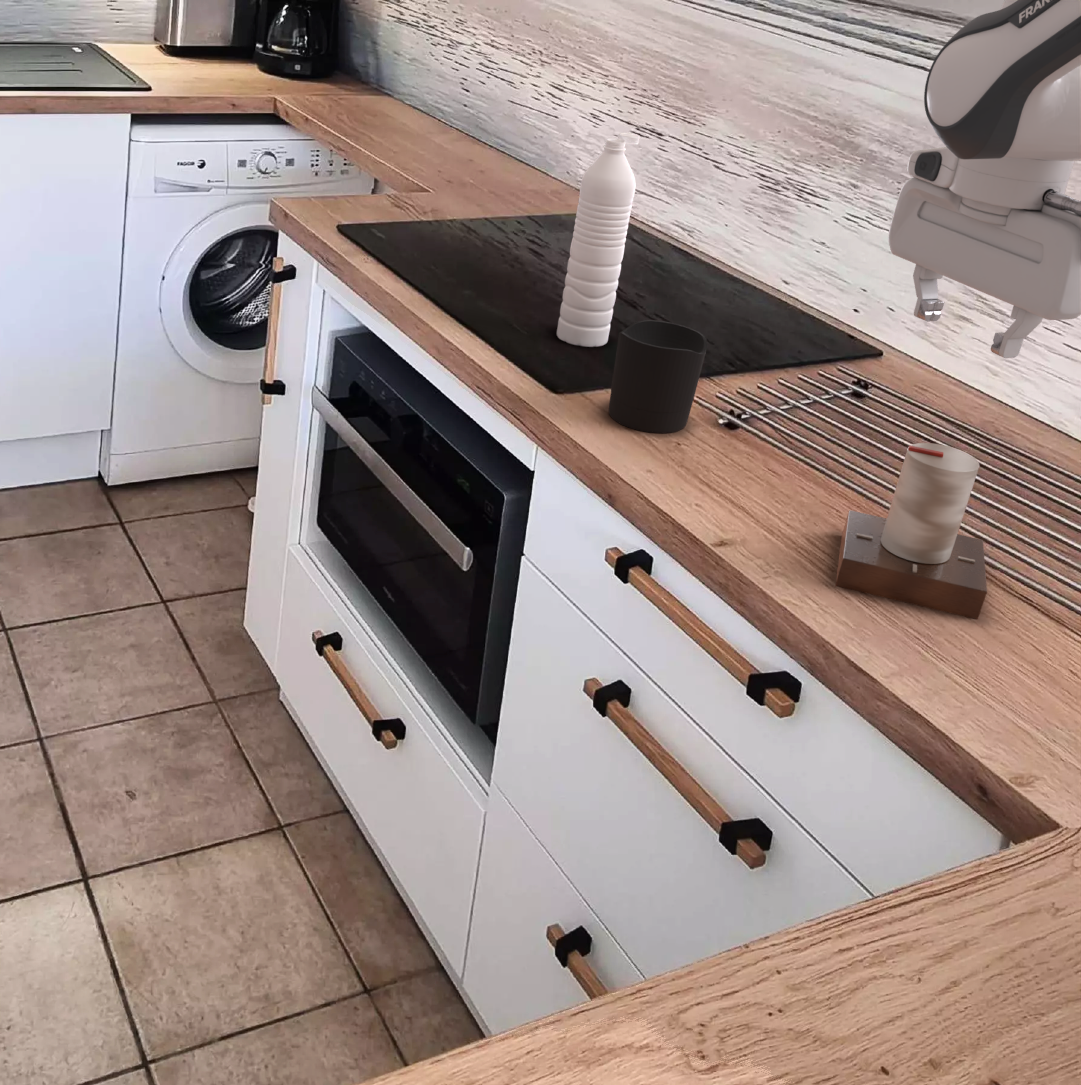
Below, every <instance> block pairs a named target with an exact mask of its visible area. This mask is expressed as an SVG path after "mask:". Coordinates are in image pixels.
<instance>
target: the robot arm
mask: <svg viewBox="0 0 1081 1085" xmlns="http://www.w3.org/2000/svg"><path fill="white" fill-rule="evenodd" d="M923 102H924V103H923V104H924V110H925V114H926V118H927V120H928V122H929V124H930V126H931V128H932V129H933V130H934V133H935V134H936V136H937V137H938V138H939V140H940V141H941V142H942V143H943V145H944V146H943V147H933V148H925V149H924V148H923V149H917V150H914V151H912V153H910V155H909V158H908V162H907V167H906V168H907V169H906V170H907V173H908V175H910V176H911V178H909V179H908V180H906V181H905V183H904V184H903V185H902V187H901V189H900V191H899V194H898V197H897V200H896V203H895V206H894V210H893V213H892V218H891V220H890V221H891V222H890V226H889V231H888V236H887V240H888V246H889V249H890V253H891V254H892V255H893V256H896V257H899V258H901V259H903V260H905V261H907V262H911V263H912V264H915V267H914V270H913V274H912V278H913V283H914V289H915V294H916V298H917V299H916V301H915V302H916V303H915V306H914V310H913V315H914V317H916V318H917V319H920V320H922V321H925V322H927V323H929V322H937V321H939V320H940V318H941V316H942V312H941V311H942V310H943V309H944V305H945V301H943V300H941V299H939V288H938V285H939V284H938V280H942V279H943V277H946V278H948V279H950V280H953V281H954V282H957V283H959V284H962V285H964V286H967V287H969V288H971V289H974V290H976V291H978V292H980V293H983V294H986V295H988V296H990V297H992V298H995V299H997V300H1000V301H1002V302H1005V303H1007V304H1009V305H1011V306H1012V310H1011V313H1010V319H1013V320H1014V321H1013V322H1012V324H1011V325H1010V326H1009V327H1008V328H1007V329H1006V330H1005V332H1002V331H1001V332H995V333H994V335H993V338H992V339H993V340H992V341H993V342H992V344H991V346H990V352H991V353H993V354H995V355H997V356H999V357H1001V358H1003V359H1015V358H1017V357H1018V356H1019V354H1020V352H1021V349H1022V345H1023V342H1024V339H1026V337H1028V336H1029V335H1030V334H1031V333H1032V332H1033V331H1034V330H1035V329H1036V328H1037V327H1038V326H1039V325H1040V324H1041V323H1042V322H1043V319H1045V320H1047V321H1065V320H1074V319H1077V318H1078V317H1080V316H1081V200H1078V199H1076V198H1074V197H1072V196H1070V195H1067V194H1065V193H1066V191H1067V187H1068V184H1069V180H1070V178H1071V174H1072V171H1073V169H1074V164H1075V162H1081V0H1004V1H1003V3H1002V5H1001V7H1000V9H999V10H995V11H991V12H987V13H983V14H980V15H978V16H976V17H975V18H973V19H972V20H970V21H968V23H966V24H965V25H963V26H962V27H961V28H960V29H959V30H957V32H955V33H954V34H953V35H952V37H951V38H950V39H949V40H948V41H946V43H945V44H944V45H943V47H942V48H941V49H940V50H939V52H937V55H936V56H935V58H934V59H933V62H932V64H931V65H930V68H929V71H928V74H927V77H926V81H925V86H924V91H923Z"/></svg>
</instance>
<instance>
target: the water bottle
mask: <svg viewBox="0 0 1081 1085" xmlns="http://www.w3.org/2000/svg"><path fill="white" fill-rule="evenodd" d="M640 137H641V136H640V135H639V134H636V133H630V132H620V133H619V134H618V138H606V139H605V140H606V141H605V142H604V143H605V145H602V147H603V151H602V152H600V154H599V155H598V156H597V158H595V160H594V161H593V162H592V163H591V164H590V165H589V167H587V169H586V170H585V171H584V174H583V175H582V177H581V181H580V187H579V198H578V204H577V206H576V207H577V208H576V209H577V210H576V213H575V216H576V217H575V219H574V225H573V230H574V231H573V232H572V239H571V243H570V247H569V248H570V249H569V258H568V260H567V265H566V270H567V273H566V275H565V278H564V285H565V286H564V288H563V291H562V302H561V304H560V309H559V317H558V320H557V329H556V336H557V338H558V339H559V340H561V341H563V342H566V344H570V345H574V346H580V347H586V348H587V347H589V348H594V347H596V348H597V347H602V346H604V345H606V344H607V343H608V341H609V335H610V331H611V322H612V320H613V314H614V306H615V302H616V298H617V292H616V291H617V290H618V286H619V278H620V275H621V271H622V261H623V258H624V254H625V248H626V245H625V243H626V242H627V238H626V237H627V234H628V229H629V223H630V216H631V214H632V212H631V211H632V209H633V208H632V207H633V202H634V198H635V194H636V187H637V186H636V185H637V184H636V183H637V182H636V177H635V174H634V172H633V170H632V167H631V165H630V163H629V161H628V159H627V156H626V154H625V151H627V148H626V145H627V146H638V145H639V143H640Z"/></svg>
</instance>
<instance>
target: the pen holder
mask: <svg viewBox="0 0 1081 1085" xmlns="http://www.w3.org/2000/svg"><path fill="white" fill-rule="evenodd" d="M707 350H708V339H707V337H706V335H704V334H703V333H701V331H698V330H696V329H694V328H692V327H688V326H686V325H683V324H679V323H674V322H669V321H665V320H656V319H643V320H639V321H635V322H634V323H632V324H630V325H629V326H627V327H626V328H625V329H624V330H622V331H619V332H618V339H617V346H616V352H615V359H614V365H613V366H614V367H613V372H612V373H613V374H612V380H611V386H610V396H609V403H608V414H609V416H610V418H612V419H613V420H614V422H616V423H617V424H620V425H621V426H624V427H626V428H628V429H632V430H634V431H640V432H643V433H650V434H671V433H676V432H679V431H681V430H683V429H684V428H685V427H686V426H687V424H688V420H689V418H690V413H691V411H692V405H693V403H694V399H695V395H696V392H697V388H698V385H699V380H700V376H701V372H702V368H703V365H704V360H705V357H706V353H707Z"/></svg>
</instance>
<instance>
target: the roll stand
mask: <svg viewBox="0 0 1081 1085" xmlns="http://www.w3.org/2000/svg"><path fill="white" fill-rule="evenodd" d="M847 512H848V513H847V516H846V520H845V523H844V526H843V530H842V533H841V538H840V546H839V555H838V563H837V568H836V569H837V570H836V578H835V584H834V585H835V587H839V588H843V589H848V590H851V591H856V592H860V593H863V594H869V595H872V596H877V597H880V598H886V599H888V600H889V599H890V600H894V601H898V602H902V603H907V604H910V605H914V606H920V607H922V608H928V609H932V610H935V611H940V612H944V613H947V614H948V613H949V614H952V615H956V616H960V617H965V618H969V619H973V620H979V617H980V614H981V611H982V608H983V606H984V603H985V600H986V597H987V594H988V586H987V575H986V561H985V560H986V559H985V548H984V539H981V538H977V537H972V536H967V535H963V534H957V537H956V540H955V543H954V546H953V550H952V553H951V556H950V558H949V559H948V560H947V561H946V562H943V563H939V564H924V563H918V562H913V561H910V560H906V559H904V558H901V557H899V556H896V555H895V554H893V553H891V552H889V551H888V550H887V549H886V548H885V547H884V546H883V545H882V543H881V537H882V533H883V530H884V527H885V523H886V520H887V517H884V516H883V517H882V516H879V515H878V516H877V515H873V514H869V513H865V512H859V511H856V510H851V509H850V510H848V511H847Z"/></svg>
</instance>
